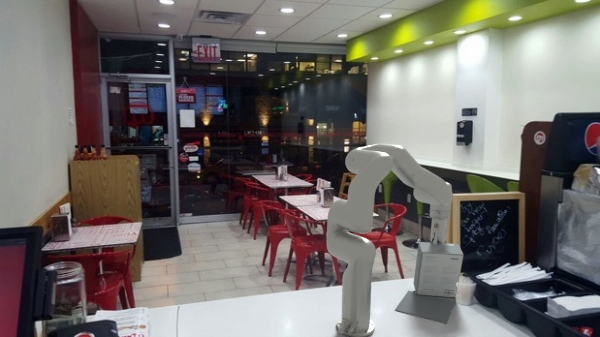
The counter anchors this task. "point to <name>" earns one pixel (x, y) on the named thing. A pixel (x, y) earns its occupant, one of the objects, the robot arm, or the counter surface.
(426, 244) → the hard drive box
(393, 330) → the counter surface
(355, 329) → the robot arm
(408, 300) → the mat
